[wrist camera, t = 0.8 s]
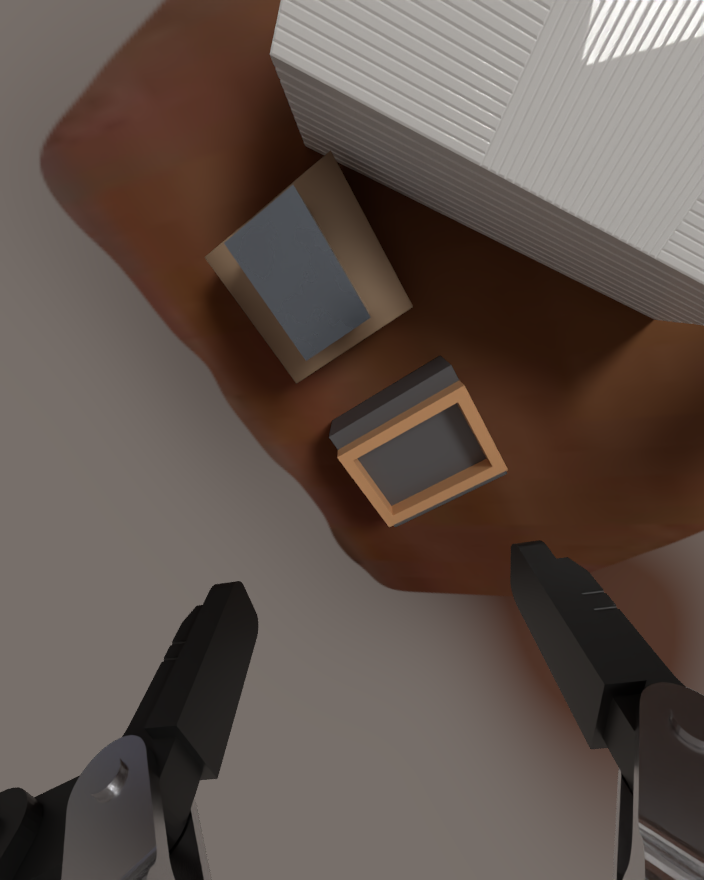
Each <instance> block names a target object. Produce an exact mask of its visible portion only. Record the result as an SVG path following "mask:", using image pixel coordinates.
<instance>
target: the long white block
mask: <svg viewBox="0 0 704 880" xmlns="http://www.w3.org/2000/svg"><path fill="white" fill-rule="evenodd" d="M270 56H271V59H272V62H273V64H274V66H275V67H276V72H277V75H278V77H279V78H280V82H281V85H282V87H283V89H284V93H285V95H286V98H287V99H288V103H289V106H290V107H291V111H292V113H293V115H294V118H295V121H296V123H297V126H298V129H300V130H299V131H300V134H301V135H302V139H303V141H304V144H305V146H306V147H308V148H310V149H312V150H314V151H316V152H318V153H320V154H322V155H324V156H325V155H326V154H327V153H328V152H329V151H330V150H331V152H332V154H333V156H334V158H335V160H336V162H338V163H340V164H342V165H344V166H346V167H348V168H351V169H353V170H355V171H357V172H359V173H361V174H363V175H365V176H367V177H369V178H371V179H373V180H375V181H377V182H379V183H381V184H383V185H385V186H387V187H389V188H391V189H393V190H395V191H397V192H399V193H401V194H403V195H405V196H407V197H409V198H411V199H413V200H415V201H417V202H419V203H421V204H423V205H425V206H427V207H429V208H431V209H433V210H435V211H437V212H439V213H441V214H443V215H445V216H447V217H449V218H451V219H453V220H455V221H457V222H459V223H461V224H463V225H465V226H467V227H469V228H471V229H473V230H475V231H477V232H479V233H481V234H483V235H485V236H487V237H489V238H491V239H493V240H495V241H497V242H499V243H501V244H503V245H505V246H507V247H509V248H511V249H513V250H515V251H517V252H519V253H521V254H523V255H525V256H527V257H529V258H531V259H534V260H536V261H538V262H540V263H542V264H544V265H546V266H548V267H550V268H552V269H554V270H556V271H558V272H560V273H562V274H564V275H566V276H568V277H570V278H572V279H574V280H576V281H578V282H580V283H582V284H584V285H586V286H588V287H590V288H592V289H594V290H596V291H598V292H600V293H602V294H604V295H606V296H608V297H610V298H612V299H614V300H616V301H618V302H620V303H622V304H624V305H626V306H628V307H630V308H632V309H634V310H636V311H638V312H640V313H642V314H644V315H646V316H648V317H650V318H652V319H654V320H663V321H673V322H680V323H681V322H683V323H688V324H692V323H694V324H697V325H704V0H281V3H280V8H279V12H278V17H277V22H276V27H275V32H274V37H273V41H272V46H271V51H270Z"/></svg>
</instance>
